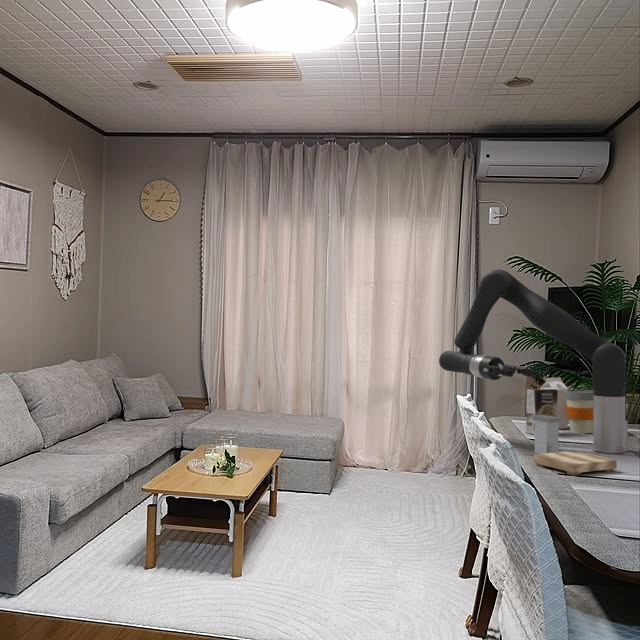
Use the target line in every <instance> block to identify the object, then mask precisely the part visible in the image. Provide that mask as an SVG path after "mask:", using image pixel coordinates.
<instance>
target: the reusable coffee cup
mask: <svg viewBox="0 0 640 640" xmlns="http://www.w3.org/2000/svg"><path fill="white" fill-rule="evenodd" d="M566 398H567V406H566V407H567V415H568V420H569V421H568V422H569V428H570V432H571V431H573V432H579V433H578V434H580V433H593V389H575V388H574V389H568V390H566ZM573 432H572V433H573Z"/></svg>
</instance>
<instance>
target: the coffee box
mask: <svg viewBox="0 0 640 640" xmlns="http://www.w3.org/2000/svg"><path fill="white" fill-rule="evenodd" d="M557 403H558V390H556V389H540V388H526V413H525V414H526V417H525V418H526V421H525V422H526V425H525V426H526V427H525V429H526V430H525V431H526V432H527V433H526V434H530V433H531V435H533V434H534V436H535V420H532V416H536V415H547V416H553V417H557Z"/></svg>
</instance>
